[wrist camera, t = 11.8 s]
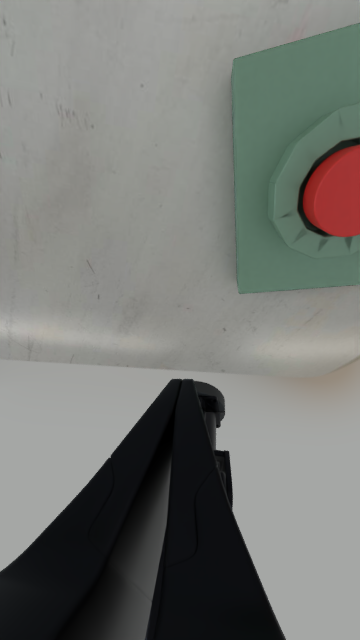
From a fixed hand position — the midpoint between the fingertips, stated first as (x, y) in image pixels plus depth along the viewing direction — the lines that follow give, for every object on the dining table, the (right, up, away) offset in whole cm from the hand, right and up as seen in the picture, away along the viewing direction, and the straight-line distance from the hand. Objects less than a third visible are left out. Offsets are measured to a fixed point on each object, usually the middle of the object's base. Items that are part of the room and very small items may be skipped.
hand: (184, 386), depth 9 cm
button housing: (+8, +11, +6) cm, 15 cm away
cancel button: (+8, +9, +3) cm, 12 cm away
